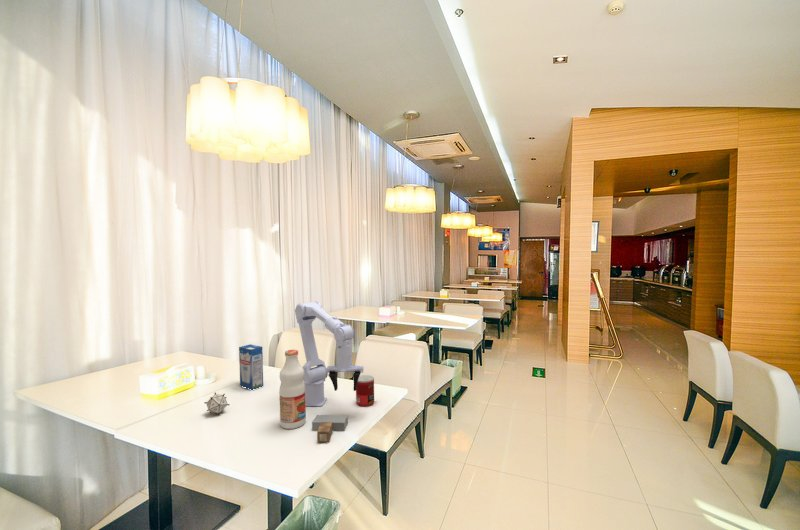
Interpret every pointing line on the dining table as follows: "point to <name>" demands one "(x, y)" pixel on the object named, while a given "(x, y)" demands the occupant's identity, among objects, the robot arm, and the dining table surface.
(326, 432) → the walnut block
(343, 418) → the gray rectangular block
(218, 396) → the grey spiked polyhedron
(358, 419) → the dining table surface
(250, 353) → the milk carton
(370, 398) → the canned food
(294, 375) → the fruit juice
